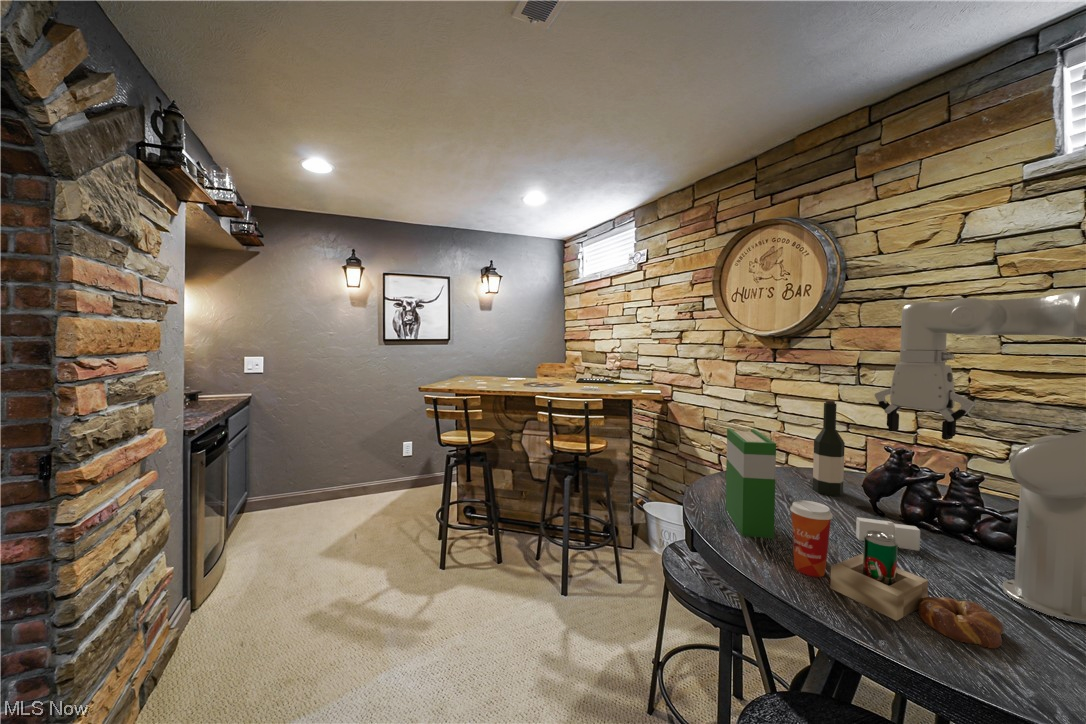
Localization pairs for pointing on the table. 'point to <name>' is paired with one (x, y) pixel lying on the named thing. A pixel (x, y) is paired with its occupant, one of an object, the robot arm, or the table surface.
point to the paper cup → (810, 536)
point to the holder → (878, 588)
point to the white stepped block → (890, 532)
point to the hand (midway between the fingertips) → (919, 434)
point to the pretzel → (961, 621)
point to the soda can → (880, 557)
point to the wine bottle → (828, 455)
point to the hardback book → (751, 482)
